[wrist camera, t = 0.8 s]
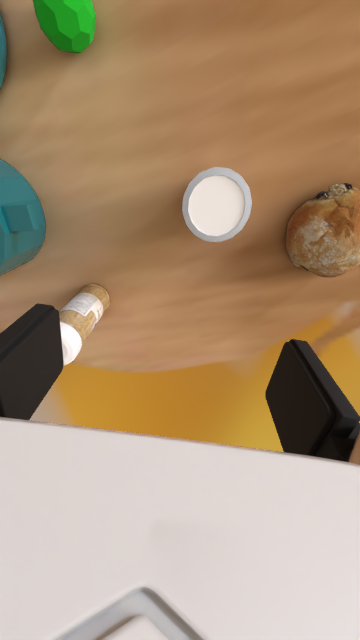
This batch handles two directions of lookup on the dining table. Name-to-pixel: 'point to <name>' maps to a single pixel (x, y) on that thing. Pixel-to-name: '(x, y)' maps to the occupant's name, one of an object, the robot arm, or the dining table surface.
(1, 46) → the lid
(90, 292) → the spice jar
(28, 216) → the pot
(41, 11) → the polyhedron
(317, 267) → the bread roll
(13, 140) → the dining table surface
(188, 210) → the white cup
